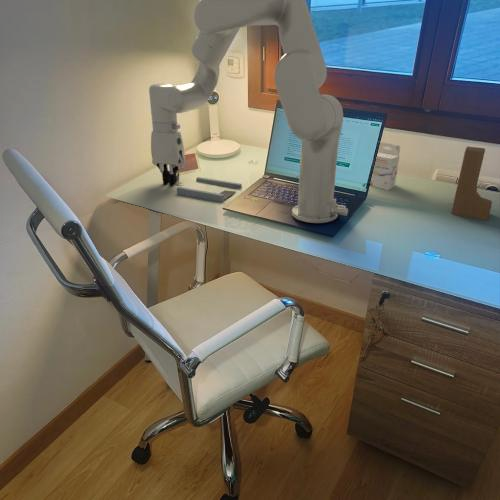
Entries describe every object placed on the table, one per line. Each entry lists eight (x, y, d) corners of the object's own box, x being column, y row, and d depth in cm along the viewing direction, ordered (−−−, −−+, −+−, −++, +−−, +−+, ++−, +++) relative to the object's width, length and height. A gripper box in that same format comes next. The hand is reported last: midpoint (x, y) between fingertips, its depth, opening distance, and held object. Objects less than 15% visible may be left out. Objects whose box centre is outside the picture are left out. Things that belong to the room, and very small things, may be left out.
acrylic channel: (241, 189, 139) (241, 183, 138) (222, 202, 129) (222, 195, 128) (198, 182, 146) (198, 176, 145) (176, 194, 136) (176, 187, 135)
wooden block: (488, 215, 120) (505, 150, 112) (487, 221, 116) (505, 154, 108) (452, 210, 124) (466, 146, 116) (450, 215, 120) (465, 149, 112)
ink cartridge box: (361, 190, 139) (367, 143, 132) (369, 186, 142) (375, 140, 136) (386, 196, 134) (393, 148, 127) (394, 192, 137) (401, 145, 130)
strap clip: (187, 186, 143) (187, 173, 141) (180, 188, 141) (179, 175, 139) (171, 180, 149) (170, 168, 147) (164, 182, 147) (163, 170, 145)
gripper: (193, 126, 135) (196, 184, 143) (151, 122, 141) (157, 178, 149) (179, 131, 129) (183, 191, 137) (136, 126, 135) (143, 184, 143)
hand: (170, 184), depth 143 cm, fingers closed
